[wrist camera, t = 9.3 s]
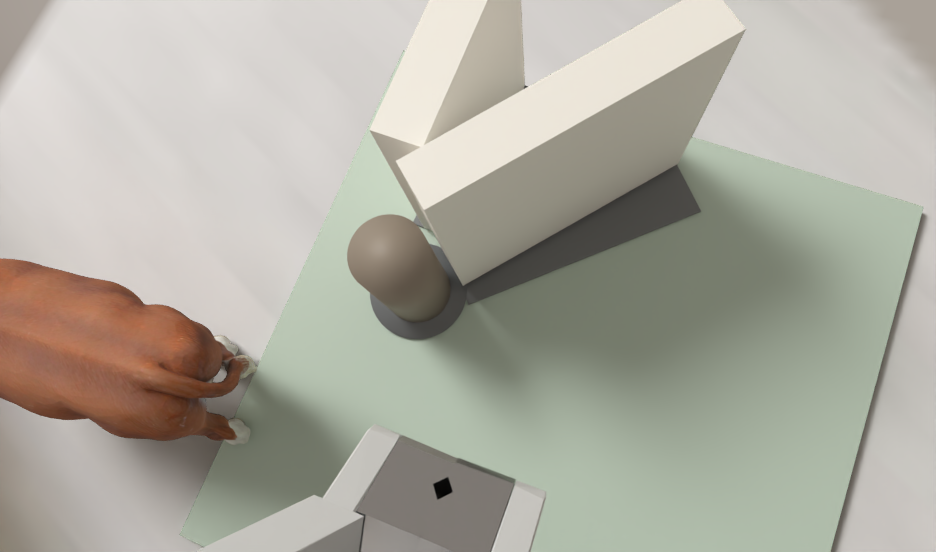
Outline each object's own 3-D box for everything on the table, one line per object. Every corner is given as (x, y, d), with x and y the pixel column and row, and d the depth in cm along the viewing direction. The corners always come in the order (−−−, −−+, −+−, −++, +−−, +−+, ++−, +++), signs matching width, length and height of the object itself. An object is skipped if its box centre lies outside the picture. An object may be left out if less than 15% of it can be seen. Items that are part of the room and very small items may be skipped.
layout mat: (754, 815, 19) (758, 823, 19) (184, 533, 23) (177, 535, 22) (918, 209, 23) (925, 205, 22) (405, 54, 26) (403, 48, 26)
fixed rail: (435, 332, 23) (383, 280, 15) (376, 309, 24) (296, 247, 16) (535, 90, 25) (533, -65, 17) (478, 72, 26) (451, -85, 18)
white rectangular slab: (462, 285, 23) (423, 210, 15) (443, 251, 24) (396, 160, 16) (678, 163, 23) (745, 28, 16) (655, 131, 24) (710, -16, 16)
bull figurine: (42, 243, 26) (-175, 151, 19) (319, 370, 23) (195, 323, 15) (-18, 340, 26) (-271, 285, 18) (262, 487, 22) (100, 498, 15)
